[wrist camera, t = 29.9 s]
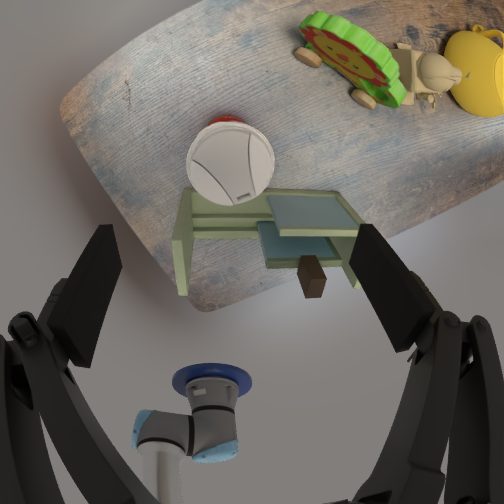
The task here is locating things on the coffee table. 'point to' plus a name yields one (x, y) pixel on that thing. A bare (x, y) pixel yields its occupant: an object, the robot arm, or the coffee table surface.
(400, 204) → the coffee table surface
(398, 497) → the robot arm
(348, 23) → the toy lion
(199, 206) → the window frame
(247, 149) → the coffee cup
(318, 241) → the window
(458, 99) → the teapot
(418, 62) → the robot
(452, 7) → the coffee table surface
